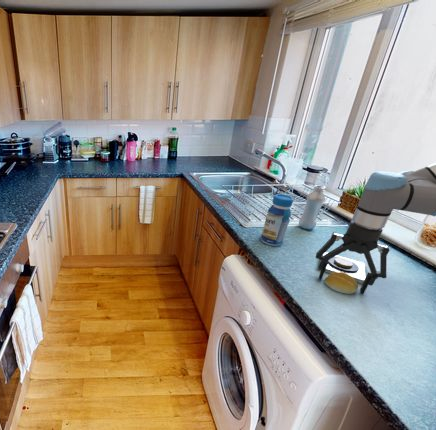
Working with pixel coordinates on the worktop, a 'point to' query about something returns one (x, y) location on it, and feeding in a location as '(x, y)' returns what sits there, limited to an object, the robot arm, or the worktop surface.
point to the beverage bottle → (277, 220)
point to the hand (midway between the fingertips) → (340, 284)
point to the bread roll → (341, 282)
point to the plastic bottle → (312, 208)
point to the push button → (346, 267)
